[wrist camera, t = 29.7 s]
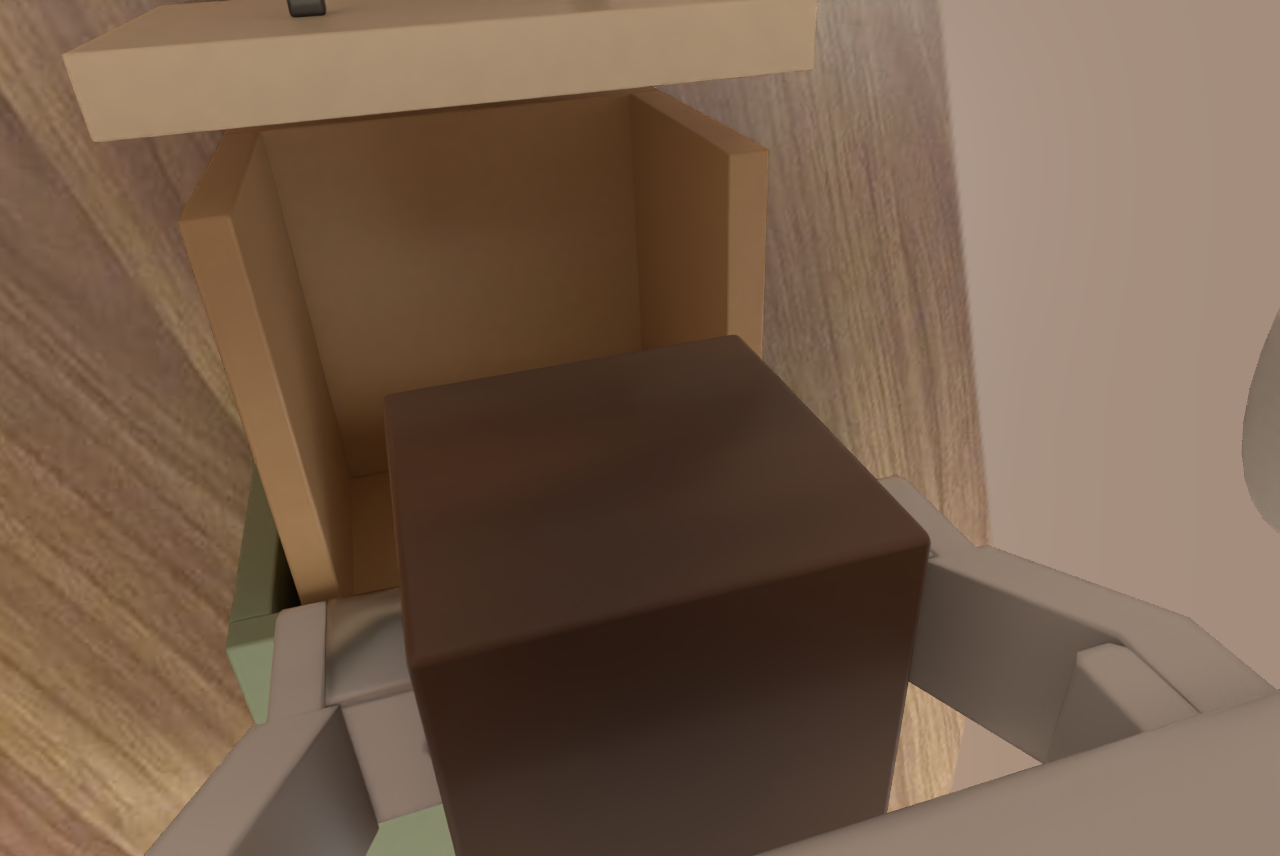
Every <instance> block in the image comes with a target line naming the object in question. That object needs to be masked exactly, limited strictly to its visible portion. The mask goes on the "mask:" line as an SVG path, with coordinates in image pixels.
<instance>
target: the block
mask: <svg viewBox="0 0 1280 856" xmlns="http://www.w3.org/2000/svg"><path fill="white" fill-rule="evenodd" d="M383 413H384V424H385V434H386V445H387V456H388V467H389V478H390V489H391V500H392V510H393V521H394V532H395V543H396V554H397V565H398V576H399V586H400V597H401V608H402V619H403V630H404V641H405V652H406V662H407V668H408V672H409V675H410V679H411V683H412V687H413V691H414V695H415V699H416V703H417V707H418V711H419V715H420V718H421V722H422V726H423V730H424V734H425V738H426V742H427V746H428V750H429V754H430V757H431V761H432V765H433V769H434V773H435V777H436V781H437V785H438V789H439V793H440V797H441V800H442V804H443V808H444V812H445V816H446V820H447V824H448V828H449V832H450V836H451V839H452V843H453V847H454V851H455V855H456V856H753V855H756V854H759V853H763V852H766V851H769V850H772V849H775V848H778V847H782V846H785V845H788V844H791V843H794V842H797V841H801V840H804V839H807V838H810V837H813V836H817V835H820V834H823V833H826V832H829V831H832V830H836V829H839V828H842V827H845V826H848V825H851V824H855V823H858V822H861V821H864V820H867V819H870V818H874V817H877V816H880V815H883V814H886V813H887V810H888V803H889V797H890V791H891V785H892V779H893V773H894V767H895V761H896V755H897V748H898V742H899V736H900V730H901V724H902V718H903V712H904V706H905V699H906V693H907V687H908V681H909V675H910V669H911V663H912V657H913V650H914V644H915V638H916V632H917V626H918V620H919V614H920V608H921V602H922V595H923V589H924V583H925V577H926V571H927V565H928V559H929V553H930V546H931V541H930V537H929V535H928V533H927V532H926V531H925V530H924V529H923V528H922V526H921V525H920V524H919V523H918V522H917V521H916V520H915V519H914V518H913V517H912V516H911V515H910V514H909V513H908V512H907V511H906V510H905V509H904V508H903V507H902V506H901V505H900V503H899V502H898V501H897V500H896V499H895V498H894V497H893V496H892V495H891V494H890V493H889V492H888V491H887V490H886V489H885V488H884V487H883V486H882V485H881V484H880V483H879V481H878V480H877V479H876V478H875V477H874V476H873V475H872V474H871V473H870V472H869V471H868V470H867V469H866V468H865V467H864V466H863V465H862V464H861V463H860V462H859V461H858V460H857V458H856V457H855V456H854V455H853V454H852V453H851V452H850V451H849V450H848V449H847V448H846V447H845V446H844V445H843V444H842V443H841V442H840V441H839V440H838V439H837V438H836V437H835V435H834V434H833V433H832V432H831V431H830V430H829V429H828V428H827V427H826V426H825V425H824V424H823V423H822V422H821V421H820V420H819V419H818V418H817V417H816V416H815V415H814V414H813V412H812V411H811V410H810V409H809V408H808V407H807V406H806V405H805V404H804V403H803V402H802V401H801V400H800V399H799V398H798V397H797V396H796V395H795V394H794V393H793V392H792V391H791V389H790V388H789V387H788V386H787V385H786V384H785V383H784V382H783V381H782V380H781V379H780V378H779V377H778V376H777V375H776V374H775V373H774V372H773V371H772V370H771V369H770V368H769V366H768V365H767V364H766V363H765V362H764V361H763V360H762V359H761V358H760V357H759V356H758V355H757V354H756V353H755V352H754V351H753V350H752V349H751V348H750V347H749V346H748V345H747V343H746V342H745V341H744V340H743V339H742V338H741V337H740V336H738V335H727V336H721V337H716V338H710V339H704V340H698V341H692V342H687V343H681V344H675V345H669V346H663V347H658V348H652V349H646V350H640V351H634V352H629V353H623V354H617V355H611V356H605V357H600V358H594V359H588V360H582V361H576V362H571V363H565V364H559V365H553V366H547V367H542V368H536V369H530V370H524V371H518V372H513V373H507V374H501V375H495V376H489V377H484V378H478V379H472V380H466V381H460V382H455V383H449V384H443V385H437V386H431V387H426V388H420V389H414V390H408V391H402V392H397V393H391V394H388V395H386V396H384V399H383Z"/></svg>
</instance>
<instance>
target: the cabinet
mask: <svg viewBox="0 0 1280 856" xmlns="http://www.w3.org/2000/svg"><path fill="white" fill-rule="evenodd" d="M298 606H302V604H301V601H300V598H299V595H298V592H297V589H296V586H295V583H294V580H293V577H292V574H291V571H290V568H289V565H288V561H287V558H286V555H285V552H284V549H283V546H282V543H281V540H280V537H279V534H278V531H277V528H276V525H275V522H274V519H273V516H272V512H271V509H270V506H269V503H268V500H267V497H266V494H265V491H264V488H263V485H262V482H261V479H260V476H259V473H258V470H257V467H256V463H254V469H253V475H252V482H251V488H250V494H249V501H248V507H247V513H246V520H245V526H244V532H243V539H242V545H241V551H240V558H239V564H238V570H237V577H236V583H235V589H234V596H233V602H232V608H231V615H230V621H229V622H230V625H229V630H228V636H227V642H226V649H225V651H226V653H227V656H228V658H229V661H230V663H231V666H232V668H233V671H234V673H235V676H236V678H237V681H238V683H239V686H240V688H241V691H242V693H243V696H244V698H245V701H246V703H247V706H248V708H249V711H250V713H251V716H252V718H253V721H254V723H255V725H258V724H262V723H266V722H267V712H268V701H269V690H270V679H271V669H272V658H273V647H274V636H275V626H276V619H277V617H278V615H279V613H280V612H281V610H284V609H289V608H294V607H298ZM378 826H379V830H378V832H377V834H376V836H375V838H374V840H373V842H372V844H371V846H370V848H369V850H368V852H367V854H366V856H456V855H455V851H454V847H453V843H452V839H451V836H450V832H449V828H448V824H447V820H446V816H445V812H444V808H443V804H441V805H438V806H434V807H431V808H428V809H425V810H421V811H418V812H415V813H412V814H408V815H405V816H402V817H398V818H395V819H392V820H389V821H385V822H382V823H379V824H378Z"/></svg>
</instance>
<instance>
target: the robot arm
mask: <svg viewBox="0 0 1280 856" xmlns="http://www.w3.org/2000/svg"><path fill="white" fill-rule="evenodd" d="M877 480H878V481H879V483H880V484H881V485H882V486H883V487H884V488H885V489H886V490H887V491H888V492H889V493H890V494H891V495H892V496H893V497H894V498H895V499H896V500H897V501H898V502H899V503H900V505H901V506H902V507H903V508H904V509H905V510H906V511H907V512H908V513H909V514H910V515H911V516H912V517H913V518H914V519H915V520H916V521H917V522H918V523H919V524H920V525H921V526H922V528H923V529H924V530H925V531H926V532H927V533H928V535H929V537H930V541H931V546H930V553H929V559H928V565H927V571H926V577H925V583H924V589H923V595H922V602H921V608H920V614H919V620H918V626H917V632H916V638H915V644H914V650H913V657H912V663H911V669H910V675H909V682H911V683H912V684H914V685H916V686H917V687H919V688H920V689H922V690H924V691H925V692H927V693H929V694H930V695H932V696H933V697H935V698H937V699H938V700H940V701H942V702H943V703H945V704H946V705H948V706H950V707H951V708H953V709H955V710H956V711H958V712H960V713H961V714H963V715H964V716H966V717H968V718H969V719H971V720H973V721H974V722H976V723H978V724H979V725H981V726H982V727H984V728H986V729H987V730H989V731H991V732H992V733H994V734H995V735H997V736H999V737H1000V738H1002V739H1004V740H1005V741H1007V742H1008V743H1010V744H1012V745H1013V746H1015V747H1017V748H1018V749H1020V750H1022V751H1023V752H1025V753H1026V754H1028V755H1030V756H1031V757H1033V758H1035V759H1036V760H1038V761H1040V762H1041V763H1043V764H1041V765H1038V766H1035V767H1032V768H1029V769H1026V770H1022V771H1019V772H1016V773H1013V774H1010V775H1006V776H1003V777H1000V778H997V779H994V780H991V781H988V782H985V783H981V784H978V785H975V786H972V787H968V788H965V789H962V790H959V791H956V792H953V793H950V794H946V795H943V796H940V797H937V798H934V799H931V800H927V801H924V802H921V803H918V804H915V805H912V806H908V807H905V808H902V809H899V810H896V811H893V812H889V813H886V814H883V815H880V816H877V817H874V818H870V819H867V820H864V821H861V822H858V823H855V824H851V825H848V826H845V827H842V828H839V829H836V830H832V831H829V832H826V833H823V834H820V835H817V836H813V837H810V838H807V839H804V840H801V841H797V842H794V843H791V844H788V845H785V846H782V847H778V848H775V849H772V850H769V851H766V852H763V853H759V854H756V855H753V856H1280V689H1279V690H1277V689H1275V688H1274V687H1273V686H1272V685H1270V684H1269V683H1268V682H1267V681H1266V680H1265V679H1263V678H1262V677H1261V676H1260V675H1259V674H1257V673H1256V672H1255V671H1254V670H1252V669H1251V668H1250V667H1249V666H1248V665H1246V664H1245V663H1244V662H1243V661H1242V660H1240V659H1239V658H1238V657H1236V655H1234V654H1233V653H1232V652H1231V651H1229V650H1228V649H1227V648H1226V647H1225V646H1223V645H1222V644H1221V643H1220V642H1218V641H1217V640H1216V639H1215V638H1214V637H1212V636H1211V635H1210V634H1209V633H1208V632H1206V631H1205V630H1204V629H1203V628H1202V627H1200V626H1199V625H1198V624H1197V623H1196V622H1194V621H1193V620H1192V619H1191V618H1189V617H1187V616H1184V615H1181V614H1178V613H1175V612H1173V611H1170V610H1167V609H1164V608H1161V607H1159V606H1156V605H1153V604H1150V603H1148V602H1145V601H1142V600H1139V599H1136V598H1133V597H1130V596H1128V595H1125V594H1122V593H1119V592H1117V591H1114V590H1111V589H1109V588H1106V587H1103V586H1100V585H1097V584H1095V583H1092V582H1089V581H1086V580H1083V579H1080V578H1078V577H1075V576H1072V575H1069V574H1067V573H1064V572H1061V571H1058V570H1056V569H1053V568H1050V567H1047V566H1044V565H1041V564H1038V563H1036V562H1033V561H1030V560H1028V559H1025V558H1022V557H1019V556H1016V555H1013V554H1011V553H1008V552H1005V551H1002V550H1000V549H997V548H994V547H991V546H989V545H985V546H981V547H975V546H974V545H973V544H972V543H971V542H970V541H969V540H968V539H967V538H966V537H965V536H964V535H963V534H962V533H961V532H960V531H959V530H958V529H957V528H956V527H955V526H954V525H953V524H952V523H951V522H950V521H949V520H948V519H947V518H946V517H945V516H944V515H943V514H942V513H941V512H940V511H939V510H937V509H936V508H935V507H934V506H933V505H932V504H931V503H930V502H929V501H928V500H927V499H926V498H925V497H924V496H923V495H922V494H921V493H920V492H919V491H918V490H917V489H916V488H915V487H914V486H913V485H912V484H911V483H910V482H909V481H908V480H907V479H906V478H904V477H901V476H898V475H893V476H889V477H884V478H880V479H877ZM441 804H442V800H441V797H440V793H439V789H438V785H437V781H436V777H435V773H434V769H433V765H432V761H431V757H430V754H429V750H428V746H427V742H426V738H425V734H424V730H423V726H422V722H421V718H420V715H419V711H418V707H417V703H416V699H415V695H414V691H413V687H412V683H411V679H410V675H409V672H408V668H407V662H406V652H405V641H404V630H403V619H402V608H401V597H400V586H396V587H391V588H386V589H381V590H376V591H370V592H365V593H360V594H355V595H350V596H345V597H340V598H335V599H330V600H329V602H328V601H323V602H318V603H313V604H308V605H303V606H298V607H294V608H289V609H284V610H281V612H280V613H279V615H278V617H277V619H276V626H275V636H274V647H273V658H272V669H271V679H270V690H269V701H268V712H267V722H266V723H262V724H258V725H254V726H252V727H251V728H250V729H249V730H248V731H247V733H246V734H245V735H244V736H243V737H242V739H241V740H240V741H239V742H238V743H237V745H236V746H235V747H234V748H233V749H232V750H231V752H230V753H229V754H228V755H227V756H226V758H225V759H224V760H223V761H222V762H221V764H220V765H219V766H218V767H217V768H216V770H215V771H214V772H213V773H212V774H211V776H210V777H209V778H208V779H207V780H206V782H205V783H204V784H203V785H202V786H201V788H200V789H199V790H198V791H197V792H196V794H195V795H194V796H193V797H192V798H191V800H190V801H189V802H188V803H187V804H186V806H185V807H184V808H183V809H182V810H181V812H180V813H179V814H178V815H177V816H176V818H175V819H174V820H173V821H172V822H171V823H170V825H169V826H168V827H167V828H166V829H165V831H164V832H163V833H162V834H161V835H160V837H159V838H158V839H157V840H156V841H155V843H154V844H153V845H152V846H151V847H150V849H149V850H148V851H147V852H146V853H145V855H144V856H366V854H367V852H368V850H369V848H370V846H371V844H372V842H373V840H374V838H375V836H376V834H377V832H378V830H379V826H378V824H379V823H382V822H385V821H389V820H392V819H395V818H398V817H402V816H405V815H408V814H412V813H415V812H418V811H421V810H425V809H428V808H431V807H434V806H438V805H441Z"/></svg>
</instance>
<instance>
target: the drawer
mask: <svg viewBox="0 0 1280 856" xmlns="http://www.w3.org/2000/svg"><path fill="white" fill-rule="evenodd" d="M816 15H817V0H228V1H214V2H200V3H185V4H171V5H160V6H158V7H156V8H154V9H152V10H150V11H148V12H146V13H144V14H142V15H140V16H138V17H136V18H134V19H132V20H130V21H128V22H126V23H124V24H122V25H120V26H118V27H116V28H114V29H112V30H110V31H108V32H106V33H104V34H102V35H100V36H98V37H96V38H94V39H92V40H90V41H88V42H86V43H84V44H82V45H80V46H78V47H76V48H74V49H72V50H70V51H68V52H66V53H64V54H62V59H63V62H64V64H65V67H66V70H67V73H68V76H69V78H70V81H71V84H72V87H73V89H74V92H75V95H76V98H77V101H78V103H79V106H80V109H81V112H82V114H83V117H84V120H85V123H86V125H87V128H88V131H89V134H90V137H91V139H92V140H93V142H105V141H115V140H125V139H134V138H144V137H154V136H164V135H174V134H184V133H194V132H204V131H214V130H224V129H226V131H225V133H224V136H223V137H222V139H221V141H220V143H219V145H218V147H217V149H216V151H215V152H214V154H213V156H212V158H211V160H210V162H209V164H208V166H207V167H206V169H205V171H204V173H203V175H202V177H201V179H200V181H199V182H198V184H197V186H196V188H195V190H194V192H193V194H192V196H191V198H190V199H189V201H188V203H187V205H186V207H185V209H184V211H183V213H182V214H181V216H180V218H179V220H178V228H179V231H180V234H181V237H182V240H183V243H184V246H185V249H186V252H187V255H188V258H189V261H190V264H191V267H192V271H193V274H194V277H195V280H196V283H197V286H198V289H199V292H200V295H201V298H202V301H203V304H204V307H205V310H206V313H207V316H208V320H209V323H210V326H211V329H212V332H213V335H214V338H215V341H216V344H217V347H218V350H219V353H220V356H221V359H222V362H223V365H224V369H225V372H226V375H227V378H228V381H229V384H230V387H231V390H232V393H233V396H234V399H235V402H236V405H237V408H238V411H239V414H240V418H241V421H242V424H243V427H244V430H245V433H246V436H247V439H248V442H249V445H250V448H251V451H252V454H253V457H254V460H255V463H256V467H257V470H258V473H259V476H260V479H261V482H262V485H263V488H264V491H265V494H266V497H267V500H268V503H269V506H270V509H271V512H272V516H273V519H274V522H275V525H276V528H277V531H278V534H279V537H280V540H281V543H282V546H283V549H284V552H285V555H286V558H287V561H288V565H289V568H290V571H291V574H292V577H293V580H294V583H295V586H296V589H297V592H298V595H299V598H300V601H301V604H302V606H303V605H308V604H313V603H318V602H323V601H328V602H329V600H330V599H335V598H340V597H345V596H350V595H355V594H360V593H365V592H370V591H376V590H381V589H386V588H391V587H396V586H399V576H398V565H397V554H396V543H395V532H394V521H393V510H392V500H391V489H390V478H389V467H388V456H387V445H386V434H385V424H384V413H383V399H384V396H386V395H388V394H391V393H397V392H402V391H408V390H414V389H420V388H426V387H431V386H437V385H443V384H449V383H455V382H460V381H466V380H472V379H478V378H484V377H489V376H495V375H501V374H507V373H513V372H518V371H524V370H530V369H536V368H542V367H547V366H553V365H559V364H565V363H571V362H576V361H582V360H588V359H594V358H600V357H605V356H611V355H617V354H623V353H629V352H634V351H640V350H646V349H652V348H658V347H663V346H669V345H675V344H681V343H687V342H692V341H698V340H704V339H710V338H716V337H721V336H727V335H738V336H740V337H741V338H742V339H743V340H744V341H745V342H746V343H747V345H748V346H749V347H750V348H751V349H752V350H753V351H754V352H755V353H756V354H757V355H758V356H759V357H760V358H761V359H762V346H763V315H764V284H765V253H766V222H767V191H768V160H769V151H768V149H766V148H765V147H763V146H761V145H759V144H757V143H755V142H754V141H752V140H750V139H748V138H746V137H744V136H743V135H741V134H739V133H737V132H735V131H733V130H732V129H730V128H728V127H726V126H724V125H723V124H721V123H719V122H717V121H715V120H713V119H712V118H710V117H708V116H706V115H704V114H702V113H701V112H699V111H697V110H695V109H693V108H692V107H690V106H688V105H686V104H684V103H682V102H681V101H679V100H677V99H675V98H673V97H671V96H670V95H668V94H666V93H664V92H662V91H660V90H658V89H656V88H655V87H653V86H660V85H670V84H680V83H690V82H700V81H709V80H719V79H729V78H739V77H749V76H759V75H769V74H779V73H789V72H799V71H809V70H812V69H813V68H814V51H815V33H816Z"/></svg>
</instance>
